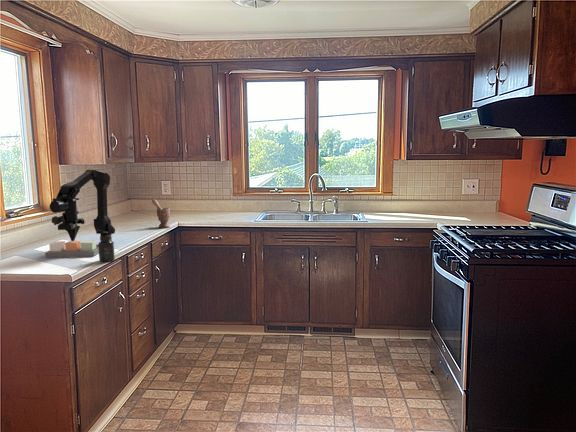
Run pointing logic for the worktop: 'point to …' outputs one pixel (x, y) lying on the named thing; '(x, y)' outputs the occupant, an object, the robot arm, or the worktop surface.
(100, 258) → the supplement bottle
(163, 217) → the mortar and pestle
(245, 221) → the worktop surface
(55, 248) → the cream button
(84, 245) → the sage button
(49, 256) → the console
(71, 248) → the terracotta button
